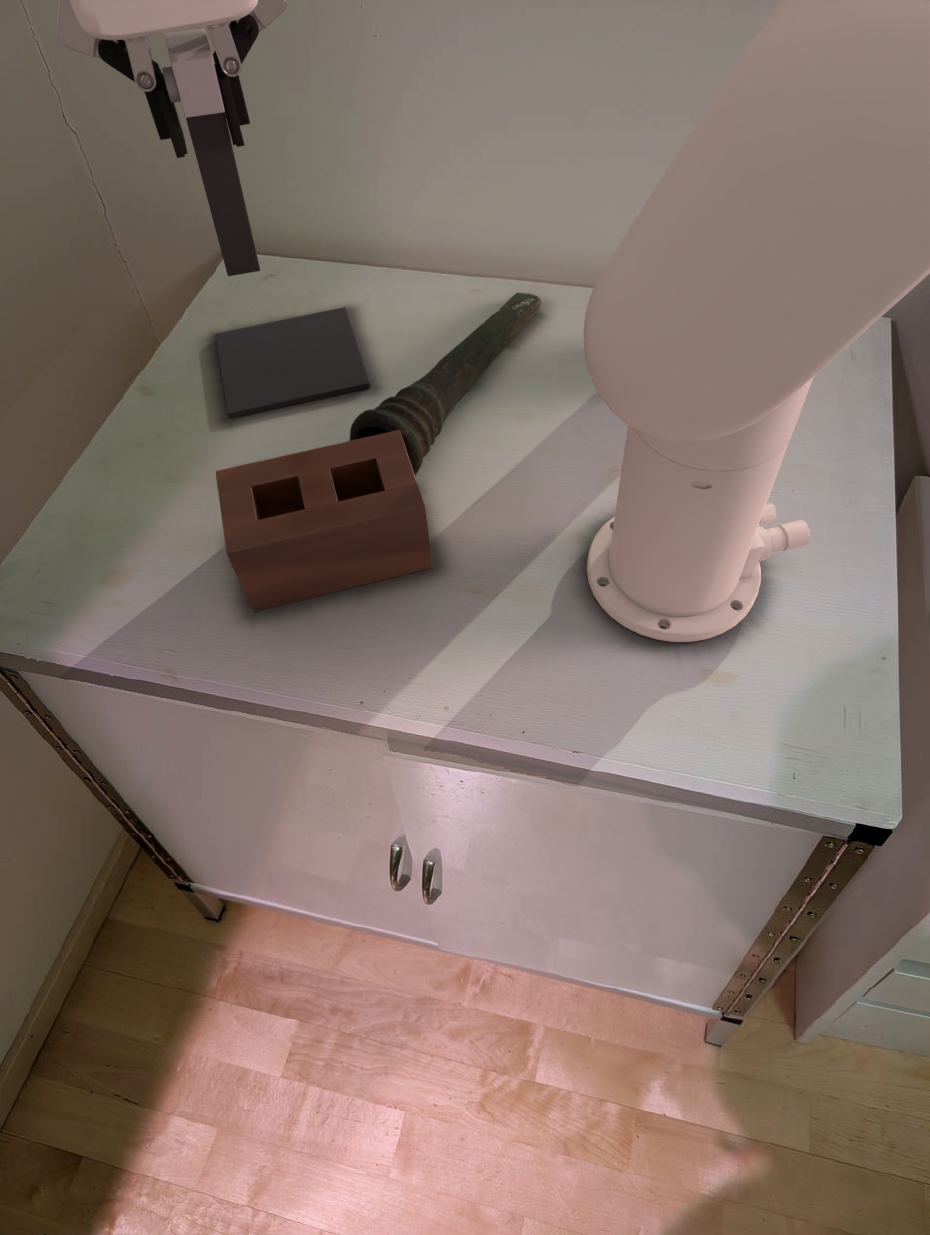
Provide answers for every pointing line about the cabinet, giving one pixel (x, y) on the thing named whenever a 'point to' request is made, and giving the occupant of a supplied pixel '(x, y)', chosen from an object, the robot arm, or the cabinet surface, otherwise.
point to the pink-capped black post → (211, 144)
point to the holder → (323, 520)
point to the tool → (445, 382)
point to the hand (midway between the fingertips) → (208, 139)
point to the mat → (289, 362)
